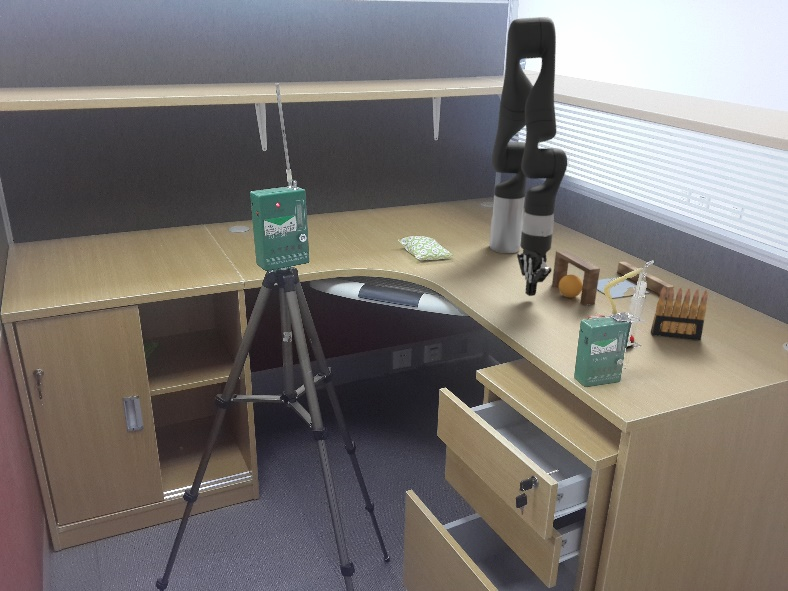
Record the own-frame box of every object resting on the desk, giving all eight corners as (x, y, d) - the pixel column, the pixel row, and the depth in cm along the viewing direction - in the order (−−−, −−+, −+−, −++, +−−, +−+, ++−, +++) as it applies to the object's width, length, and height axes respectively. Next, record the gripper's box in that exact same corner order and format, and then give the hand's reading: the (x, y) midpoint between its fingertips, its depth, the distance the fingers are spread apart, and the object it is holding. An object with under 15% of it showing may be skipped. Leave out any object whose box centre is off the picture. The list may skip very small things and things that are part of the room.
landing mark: (584, 282, 182) (584, 281, 182) (620, 277, 186) (620, 276, 186) (612, 298, 172) (612, 298, 172) (649, 293, 176) (649, 292, 176)
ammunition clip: (651, 335, 152) (660, 287, 148) (650, 332, 154) (659, 284, 149) (700, 340, 150) (711, 292, 146) (699, 337, 152) (709, 289, 147)
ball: (578, 288, 176) (558, 297, 175) (572, 268, 174) (552, 277, 173) (589, 294, 170) (568, 304, 170) (583, 274, 168) (562, 283, 168)
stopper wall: (617, 272, 190) (618, 262, 189) (622, 271, 191) (624, 261, 190) (666, 297, 173) (668, 287, 172) (672, 296, 174) (674, 286, 173)
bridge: (584, 305, 168) (589, 269, 164) (551, 284, 181) (555, 250, 177) (594, 304, 169) (600, 268, 165) (561, 283, 182) (565, 249, 178)
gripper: (510, 223, 167) (504, 287, 174) (538, 239, 156) (531, 306, 163) (536, 221, 170) (529, 284, 177) (565, 236, 159) (557, 302, 165)
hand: (530, 294), depth 170 cm, fingers closed
